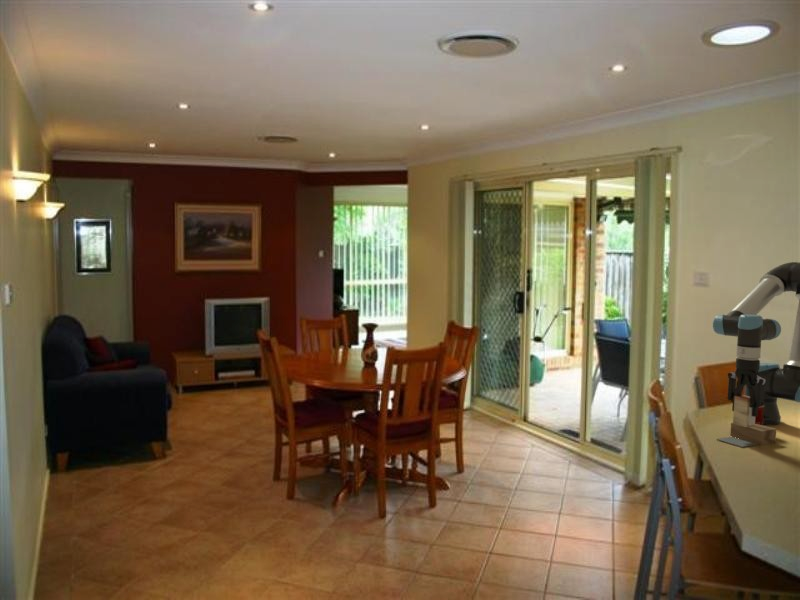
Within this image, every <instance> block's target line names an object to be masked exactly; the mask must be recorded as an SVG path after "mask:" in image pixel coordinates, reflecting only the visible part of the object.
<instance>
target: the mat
mask: <svg viewBox="0 0 800 600" xmlns="http://www.w3.org/2000/svg"><path fill="white" fill-rule="evenodd" d="M718 440H719V441H718ZM716 441H718V442H721V441H723V442H722V443H724V442H726V443H725V444H728V443H730V444H729V445H731V444H733V445H732V446H734V445H736V447H738V446H740V447H739V448H741V447H744V448H748V446H749V447H752V446H753V447H754V446H757V445H758V444H756V443H752V442H749V441H745V440H742V439H738V438H735V437H730V436H727V437H721V438H717V439H716Z"/></svg>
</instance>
